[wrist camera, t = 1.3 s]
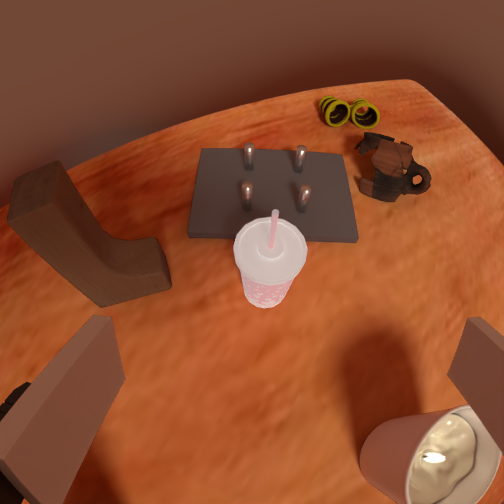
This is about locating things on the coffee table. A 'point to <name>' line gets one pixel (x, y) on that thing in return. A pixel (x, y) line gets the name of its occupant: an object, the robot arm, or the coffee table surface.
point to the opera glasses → (348, 112)
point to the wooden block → (83, 240)
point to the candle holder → (431, 458)
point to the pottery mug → (391, 169)
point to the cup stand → (272, 193)
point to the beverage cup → (269, 258)
